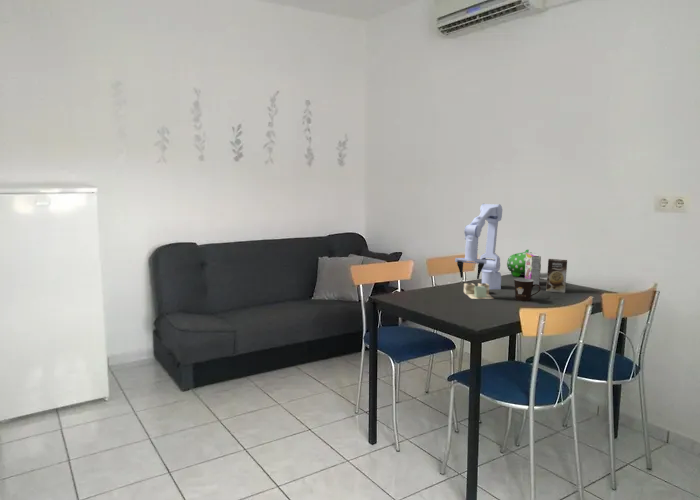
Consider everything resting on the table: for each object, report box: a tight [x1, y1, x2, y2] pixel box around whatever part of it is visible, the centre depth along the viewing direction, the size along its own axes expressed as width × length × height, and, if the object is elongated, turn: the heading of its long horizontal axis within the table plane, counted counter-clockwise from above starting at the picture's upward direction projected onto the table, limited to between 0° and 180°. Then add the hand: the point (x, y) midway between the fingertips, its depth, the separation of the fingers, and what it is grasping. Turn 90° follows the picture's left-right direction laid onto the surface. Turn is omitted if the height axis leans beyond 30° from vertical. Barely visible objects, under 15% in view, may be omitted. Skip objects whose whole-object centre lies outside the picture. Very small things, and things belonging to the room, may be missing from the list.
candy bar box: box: [524, 252, 542, 287], centre depth 284 cm, size 11×5×16 cm, turn 179°
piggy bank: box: [506, 249, 542, 278], centre depth 307 cm, size 14×18×15 cm
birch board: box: [466, 293, 495, 300], centre depth 257 cm, size 11×15×1 cm
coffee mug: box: [513, 277, 542, 302], centre depth 246 cm, size 12×9×10 cm
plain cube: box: [474, 285, 487, 297], centre depth 253 cm, size 4×4×4 cm
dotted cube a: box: [477, 282, 490, 295], centre depth 260 cm, size 4×4×5 cm
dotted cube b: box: [463, 282, 476, 295], centre depth 260 cm, size 4×4×5 cm
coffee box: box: [545, 258, 568, 294], centre depth 268 cm, size 9×6×16 cm
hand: (469, 278), depth 251 cm, fingers open, 7 cm apart
